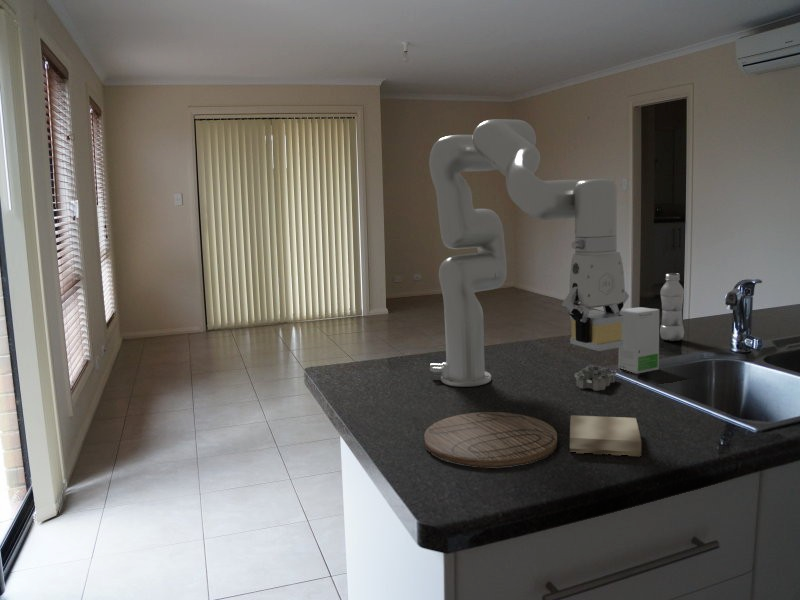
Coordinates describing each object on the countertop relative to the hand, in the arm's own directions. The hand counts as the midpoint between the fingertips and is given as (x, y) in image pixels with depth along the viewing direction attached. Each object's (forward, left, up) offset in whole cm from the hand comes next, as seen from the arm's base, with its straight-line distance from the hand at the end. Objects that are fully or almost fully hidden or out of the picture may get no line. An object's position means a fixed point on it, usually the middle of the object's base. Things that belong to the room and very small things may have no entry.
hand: (596, 338), depth 127 cm
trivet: (-20, -10, -18) cm, 29 cm away
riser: (+1, -8, -18) cm, 20 cm away
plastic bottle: (+23, +77, -18) cm, 82 cm away
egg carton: (0, +30, -18) cm, 35 cm away
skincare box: (+11, +44, -18) cm, 49 cm away
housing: (0, 0, -1) cm, 1 cm away
